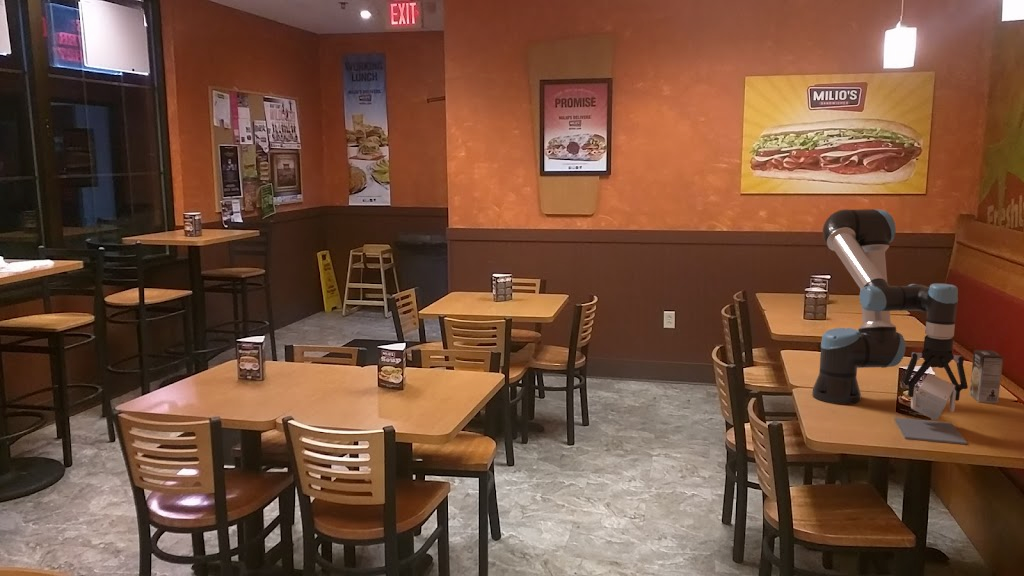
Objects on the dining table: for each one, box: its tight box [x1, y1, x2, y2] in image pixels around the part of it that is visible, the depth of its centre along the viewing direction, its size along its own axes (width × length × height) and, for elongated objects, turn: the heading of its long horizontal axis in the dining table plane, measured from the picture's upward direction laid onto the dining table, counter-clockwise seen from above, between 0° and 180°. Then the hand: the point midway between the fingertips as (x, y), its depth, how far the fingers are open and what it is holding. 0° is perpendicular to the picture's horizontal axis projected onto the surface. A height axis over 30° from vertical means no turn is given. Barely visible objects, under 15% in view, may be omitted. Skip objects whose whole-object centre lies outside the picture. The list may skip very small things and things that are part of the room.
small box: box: [910, 372, 955, 421], centre depth 237 cm, size 8×6×13 cm
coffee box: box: [969, 349, 1004, 404], centre depth 266 cm, size 9×6×16 cm
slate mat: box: [893, 417, 968, 445], centre depth 235 cm, size 16×18×1 cm
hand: (932, 408), depth 237 cm, fingers closed on small box, 10 cm apart
